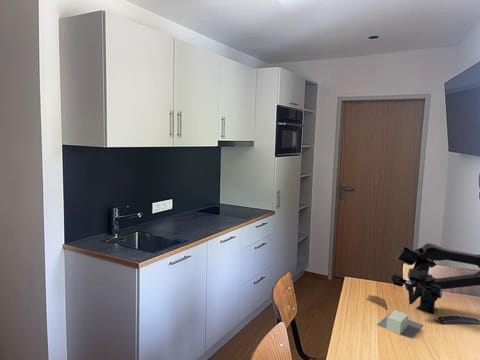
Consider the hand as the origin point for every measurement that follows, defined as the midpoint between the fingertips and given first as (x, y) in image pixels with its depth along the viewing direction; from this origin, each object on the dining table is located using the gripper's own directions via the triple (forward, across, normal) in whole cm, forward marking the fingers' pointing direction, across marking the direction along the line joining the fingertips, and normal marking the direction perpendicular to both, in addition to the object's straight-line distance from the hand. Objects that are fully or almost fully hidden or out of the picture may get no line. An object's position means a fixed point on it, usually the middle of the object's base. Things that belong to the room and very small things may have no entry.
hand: (410, 303), depth 141 cm
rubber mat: (+10, -1, -1) cm, 10 cm away
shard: (+1, -14, +10) cm, 17 cm away
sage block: (+8, -1, -2) cm, 8 cm away
